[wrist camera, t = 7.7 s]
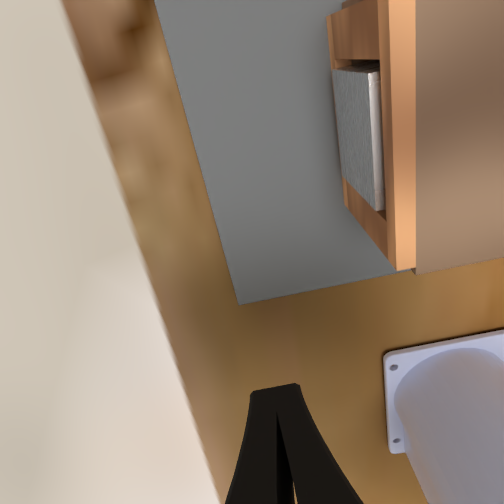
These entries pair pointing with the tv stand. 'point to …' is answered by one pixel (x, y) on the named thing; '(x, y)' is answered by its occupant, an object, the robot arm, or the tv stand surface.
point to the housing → (432, 126)
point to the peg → (361, 129)
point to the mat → (269, 142)
